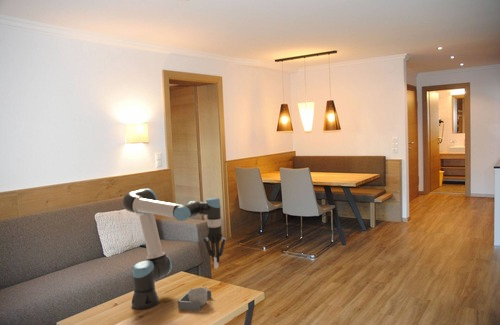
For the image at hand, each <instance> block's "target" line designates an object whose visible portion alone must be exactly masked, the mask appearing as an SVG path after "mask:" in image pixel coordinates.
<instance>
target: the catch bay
mask: <svg viewBox="0 0 500 325" xmlns="http://www.w3.org/2000/svg"><path fill="white" fill-rule="evenodd" d="M192 289H193V288H190V289H189V290H188V291H190V290H192ZM188 291H187V292H186V293H185V294H184V295H182V297H181V298H180V299H179V300H178V301H177V307H178V308H177V309H178V310H181V311H182V310H183V311H196V312H200V311H201V306H200V302H189V298H188ZM207 299H212V289H211V290H210V289H207Z"/></svg>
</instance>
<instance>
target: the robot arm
mask: <svg viewBox="0 0 500 325" xmlns="http://www.w3.org/2000/svg"><path fill="white" fill-rule="evenodd" d="M122 206H123V208H124V209H125V210H126V211H127V212H129V213H135V214H136V215H137V216H138V217H139V221H140V226H141V229H142V234H143V238H144V243H145V247H146V251H147V256H146V258H145V259H146V260H143V261H138V262H137V263H135V264H134V265H133V267H132V283H133V284H132V285H133V293H132V294H133V295H132V299H131V307H132V308H133V309H135V310H146V309H148V310H149V309H151V308H154V307H156V306H158V305H159V303H160V297H159V295H158V293H157V291H156V285H155V282H156V281H158V280H160V279H162V278H164V277H166V276H167V275H169V274H170V273H171V271H172V268H173V263H172V262H173V261H172V260H171V258H170V257H169V256H168V255H167V254H166V252H165V251H164V250H163V248H162V242H161V238H160V235H159V230H158V226H157V221H156V220H157V219H156V216H163V217H169V218H174V219H175V220H177V221H179V222H184V221H187V220H189V219H191V218H195V217H197V216H206V217H207V218H206V221H207V222H206V223H207V236H206V237H205V238H203V241H204V244H205V245H206V249H207V254H208V256H210V257H211V259H212V260H211V261H212V263H213V267H214V269H213V270H217V269H218V268H219V263H220V262H221V260H220V258H221V256H223V255H224V254H223V253H224V249H225V245H226V241H227V238H225V237H223V233H222V217H221V215H222V214H221V207H222V206H221V198H219V197H209V198H206V201H201V200H200V201H199V200H191V201H189V202H188V203H187V204H180V203H174V202H169V201H168V202H167V201H161V200H158V197H157V194H156V193H155V191H154V190H152V189H151V188H140V189H137V190H133V191H129V192H127V193H126V194H125V195H124V196H123V197H122ZM155 215H156V216H155ZM220 242H221V244H220Z"/></svg>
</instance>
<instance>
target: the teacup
mask: <svg viewBox="0 0 500 325" xmlns="http://www.w3.org/2000/svg"><path fill="white" fill-rule="evenodd" d="M191 289H192V290H190V289H189V290H190V291H189V290H188V291H187V292H188V298H189V300H188V301H189V302H200V307H203V306H204V305H205V304H207V302H208V298H207V290H208V288H207V286H204V287H196V288H191Z"/></svg>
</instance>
